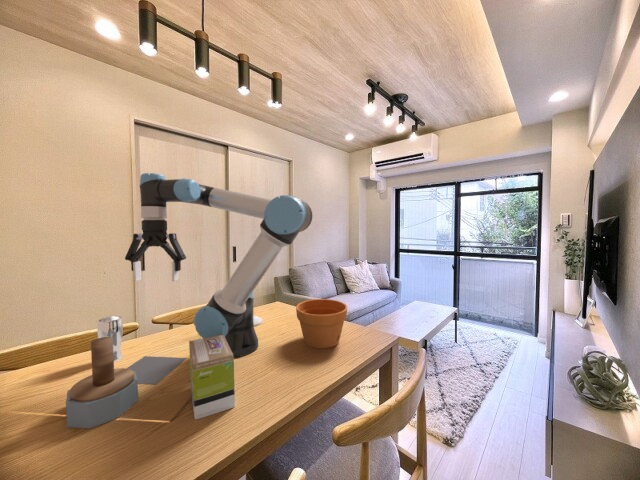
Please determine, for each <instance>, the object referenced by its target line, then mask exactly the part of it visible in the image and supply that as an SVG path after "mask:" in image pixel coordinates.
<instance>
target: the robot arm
mask: <svg viewBox="0 0 640 480" xmlns="http://www.w3.org/2000/svg"><path fill="white" fill-rule="evenodd" d="M139 176H140V177H139V178H140V179H139V192H140V217H141V218H140V219H142V220H141V231H142V233H140V232H139V233H134V234H133V235H132V241H131V244H130V245H129V248H128V250H127V253H126V255H125V256H124V260H125V261H129V262H130V264H131V265H130V267H131V272H133V281H134V282H138V281H141V280H142V261H140V259H141V257H143V255H144V254H145V252H146V251H147V250H148V249H149V248H150V247H160V248H162V249H163V250H164V252H166V254H167V255H168V256H169V257H170V258H171V259H172V262H171V278H172V279H171V280H172V282H176V281H178V280H180V276H179V275H180V273H179V272H180V271H181V270H182V266H181V262H182V261H183V260H186V259H187V256H186V254H185V252H184V251H183V248H182V246H181V245H180V243H179V241H178V237H177V233H175V232H174V233H173V232H171V233H168V232H167V231H168V221H167V220H166V219H167V218H168V217H167V215H168V214H167V212H168V211H167V203H185V204H194V205H200V206H205V207H209V208H213V209H214V208H215V209H219V210H223V211H228V212H231V213H236V214H241V215H244V216H245V215H246V216H249V217H254V218H258V219H262V221H261V222H260V224H259V229H260V233H259V234H258V236H257V237H256V239H255V240H254V242H253V244H252V245H251V246H250V248H249V249H248V251H247V253H245V255H244V256H243V258H242V260H241V261H240V263H239V264H238V266H237V267H236V268H235V270H234V272H233V273H232V274H231V276H230V278H229V279H228V281H227V282H226V284H225V285H224V287H223V288H222V289H218V290H216V291H215V292H214V294H213V295H212V297H211V298H210V299H209V301H208V302H207V304H206V305H204V306H202V307H200V308H199V309H198V310H197V311H196V312H195V314H194V316H193V317H194V318H193V325H194V327H195V328H194V329H195V331H196V332H197V334H198V335H199V336H200V338H201V339H203V338H208V337H212V336H217V335H222V334H224V336H225V338H226V341H227V343H228V345H229V347H230V349H231V351H232V353H233V356H234V358H237V357H243V356H246V355H250V354H252V353H253V352H255V351H257V349H259V338H258V335H257V333H256V329H255V326H254V323H253V316H254V299H255V298H254V293H253V292H254V290H255V289H256V288H257V287H258V285H259V283H261V281H262V279H263V277H264V276H265V275H266V273H267V272H268V271H269V270H270V268H271V266H272V264H273V263H274V261H275V260H276V258H277V257H278V256H279V254H280V253H281V251H282V250H283V248H284V247H289V246H291V245H292V244H293V242H294V241H295V239H297V236H298V235H299V233H301V232H303V231H305V230H307V229H308V228H309V227H310V225H311V224H312V222H313V211H312V208H311V207H310V205H309V204H308V203H307V202H306V201H304V200H303V199H299V198H297V197H296V196H294V195H289V194H288V195H286V194H284V195H281V194H280V195H278V196H276V197H274V198H272V199H270V198H269V199H268V198H264V197H260V196H257V195H252V194H245V193H242V192H236V191H232V190H228V189H223V188H217V187H214V186H210V185H205V184H199V183H198V182H197V181H196V180H195V179H191V178H180V179H179V178H177V179H174V178H173V179H166V176H165V175H163V174H161V173H156V172H155V173H153V172H152V173H150V172H144V173H142V174H140V175H139ZM142 240H143V241H142ZM167 240H169V242H168V241H167ZM170 244H171V245H170ZM139 246H140V247H139Z"/></svg>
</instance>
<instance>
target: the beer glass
mask: <svg viewBox="0 0 640 480" xmlns="http://www.w3.org/2000/svg"><path fill="white" fill-rule="evenodd" d="M123 328H124V327H123V319H122V316H121V315H110V316H105V317H102V318H100V319H98V320H97V339H98V338H102V337H113V354H114V363H116V362H118V361H120V360H121V359H122V358H123V355H122V348H121V345H122V341H123V334H124V330H123Z"/></svg>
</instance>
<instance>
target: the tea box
mask: <svg viewBox="0 0 640 480" xmlns="http://www.w3.org/2000/svg"><path fill="white" fill-rule="evenodd" d="M188 345H189V347H188V348H189V369H190V370H189V371H190V373H189V374H190V391H191V399H192V408H193V418H194V420H195V421H197V420H201V419H203V418H207V417H210V416H212V415H215V414H218V413H221V412H223V411H227V410H231V409H233V408H235V407H236V397H235V395H236V394H235V361H234V360H235V359H234V358H235V357H234V356H233V353H232V351H231V349H230V347H229V345H228V343H227V341H226V338H225V336H224V334H222V335H217V336H212V337H208V338H198V339H194V340H189V341H188Z"/></svg>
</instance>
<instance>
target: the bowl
mask: <svg viewBox="0 0 640 480" xmlns="http://www.w3.org/2000/svg"><path fill="white" fill-rule="evenodd" d="M133 372H134V380H133V382H132V383H131V384H130V385H129V386H127V387H126V388H124V389H123V390H121V391H119V392H117V393H115V394H113V395H110V396H108V397H105V398H102V399H98V400H93V401H86V402H78V401H74V400H72V399H71V398H70V389H69V390H67V392H66V400H65V411H66V412H65V413H66V428H77V429H79V428H80V429H92V428H95V427H98V426H101V425H103V424H105V423H108V422H112V421H115V420H116V419H120V416H121V417H122V415H124V414H125V412H127V410H129V409H130V408H131V407H133V406H134V405H135V404H136V403H137V402H138V401H139V384H138V380H137V377H136V373H135V371H133Z"/></svg>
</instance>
